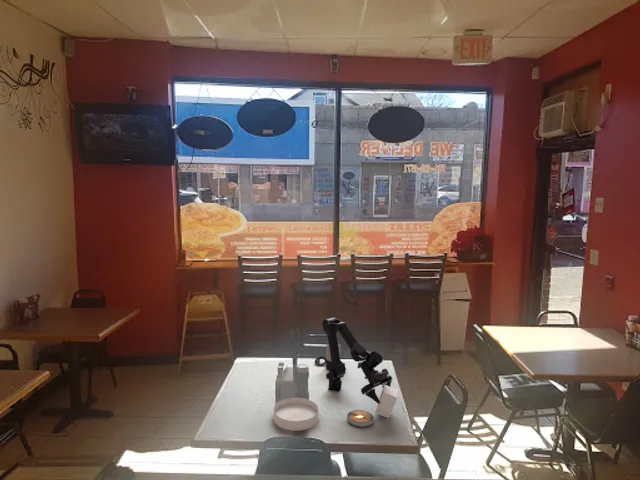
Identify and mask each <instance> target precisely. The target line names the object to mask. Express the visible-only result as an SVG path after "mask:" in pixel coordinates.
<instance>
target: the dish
mask: <svg viewBox="0 0 640 480" xmlns="http://www.w3.org/2000/svg"><path fill="white" fill-rule="evenodd" d="M272 415H273V416H272V418H273V422H274V425H276V426H277V427H279V428H281V429H283V430H286V431H293V432H294V431H297V432H298V431H305V430H308V429H311V428H313V427H314V426H315V425H316V424H317V423H318V422H319V417H320V416H319V415H320V414H319V407H318V405H317V404H316V402H314V401H312V400H310V399H307V398H303V397H288V398H284V399H281V400H280V401H278V402H277V403H275V405H274V407H273V413H272Z"/></svg>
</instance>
